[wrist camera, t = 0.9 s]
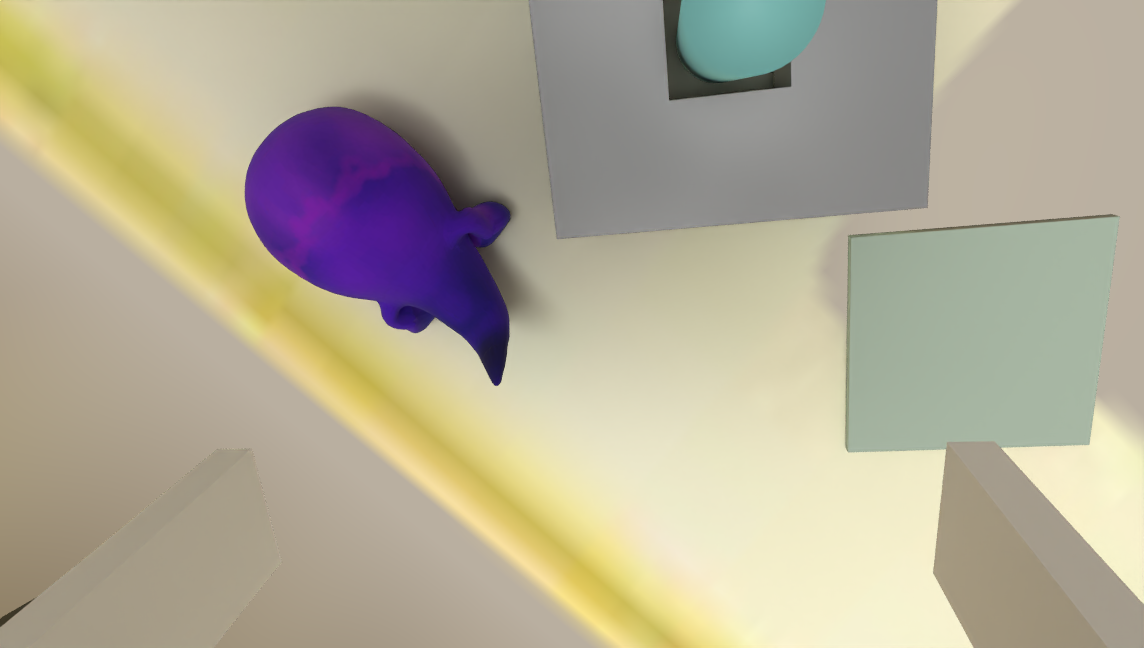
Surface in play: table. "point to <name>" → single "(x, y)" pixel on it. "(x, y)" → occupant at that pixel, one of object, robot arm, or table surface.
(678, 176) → the socket
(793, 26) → the plug
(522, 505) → the table surface
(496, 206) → the toy
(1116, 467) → the table surface
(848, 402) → the mat
